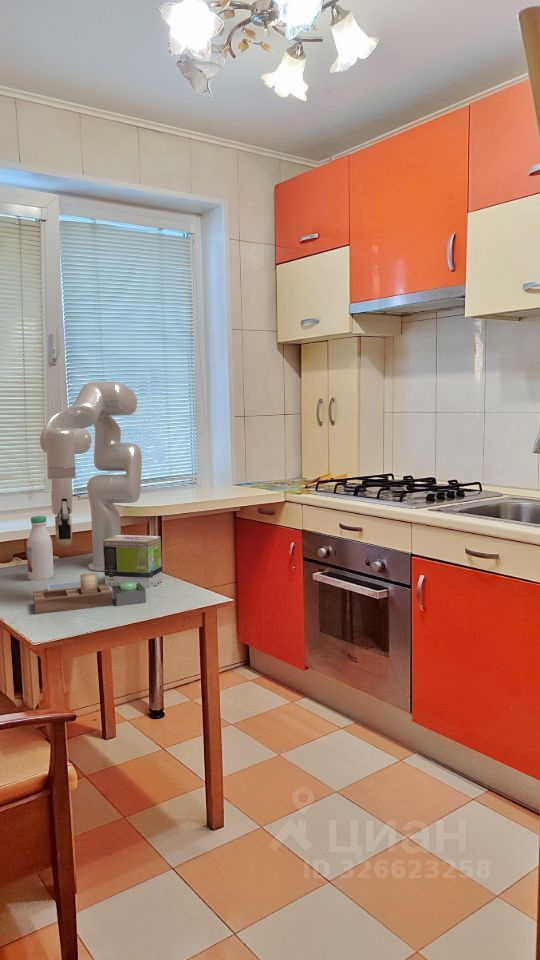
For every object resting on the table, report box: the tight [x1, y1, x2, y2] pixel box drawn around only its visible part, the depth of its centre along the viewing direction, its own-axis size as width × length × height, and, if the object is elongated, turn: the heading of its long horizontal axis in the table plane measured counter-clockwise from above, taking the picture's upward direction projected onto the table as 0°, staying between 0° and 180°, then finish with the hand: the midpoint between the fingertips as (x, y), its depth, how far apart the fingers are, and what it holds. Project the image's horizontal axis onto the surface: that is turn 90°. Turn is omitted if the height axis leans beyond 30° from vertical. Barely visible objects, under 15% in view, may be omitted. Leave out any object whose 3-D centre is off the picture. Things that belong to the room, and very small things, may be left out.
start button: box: [120, 582, 137, 591], centre depth 196 cm, size 4×4×3 cm
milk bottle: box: [26, 515, 55, 581], centre depth 223 cm, size 8×8×20 cm
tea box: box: [103, 534, 163, 589], centre depth 215 cm, size 15×10×15 cm, turn 74°
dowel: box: [54, 515, 73, 547], centre depth 199 cm, size 4×4×8 cm
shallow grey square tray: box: [46, 580, 81, 590], centre depth 205 cm, size 13×13×2 cm
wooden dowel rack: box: [32, 583, 114, 615], centre depth 193 cm, size 10×20×4 cm, turn 112°
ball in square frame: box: [111, 583, 147, 607], centre depth 196 cm, size 8×8×4 cm
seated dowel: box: [79, 572, 98, 594], centre depth 194 cm, size 4×4×8 cm
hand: (63, 536), depth 199 cm, fingers closed on dowel, 4 cm apart
